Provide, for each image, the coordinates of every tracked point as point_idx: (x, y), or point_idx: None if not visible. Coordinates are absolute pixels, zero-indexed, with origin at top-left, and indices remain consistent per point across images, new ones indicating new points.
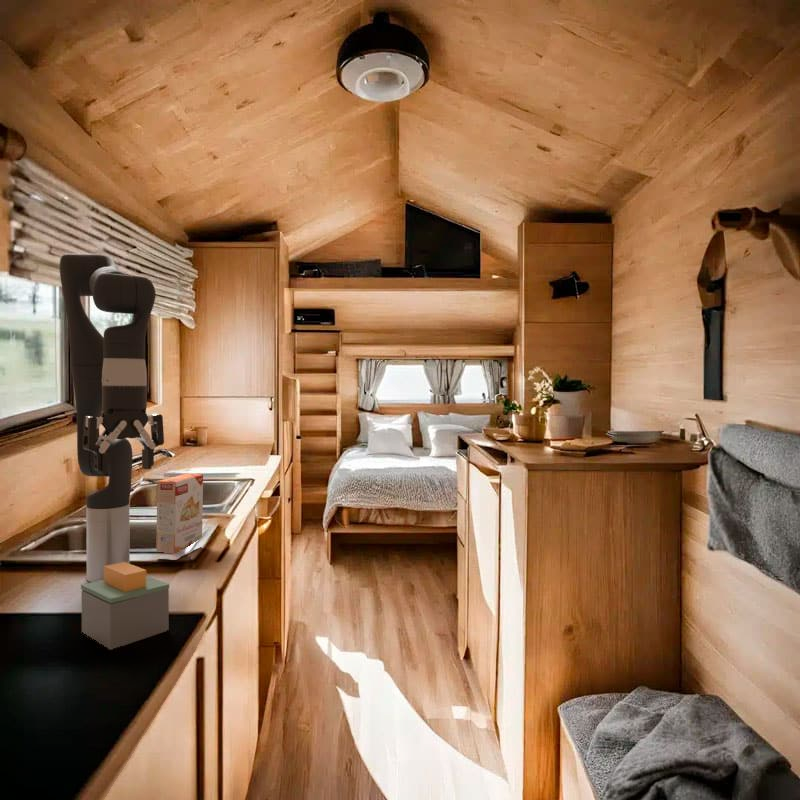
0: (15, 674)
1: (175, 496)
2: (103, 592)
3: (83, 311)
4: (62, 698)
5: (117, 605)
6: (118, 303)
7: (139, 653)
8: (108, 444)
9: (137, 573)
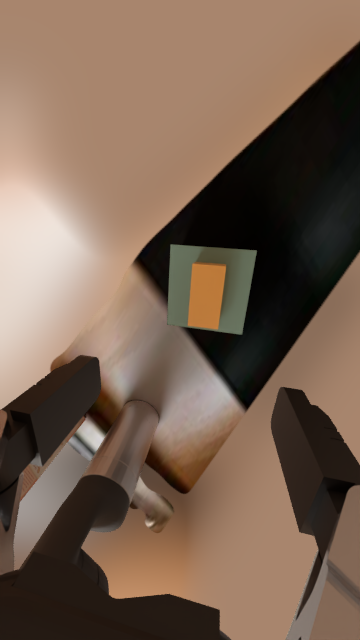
0: (334, 275)
1: None
2: (245, 283)
3: None
4: (352, 176)
5: None
6: None
7: (236, 215)
8: (348, 568)
9: (206, 264)
